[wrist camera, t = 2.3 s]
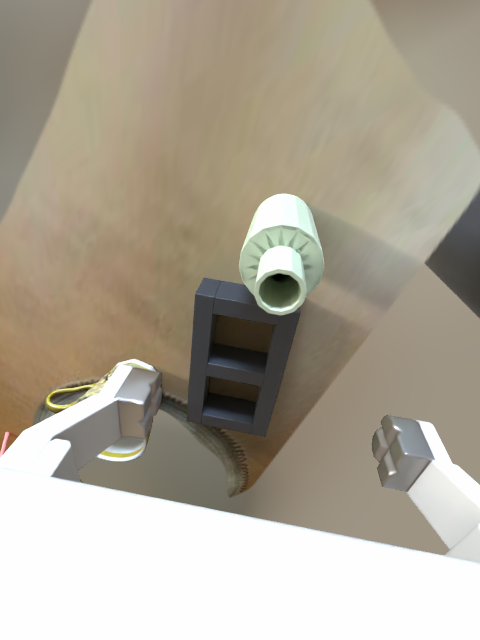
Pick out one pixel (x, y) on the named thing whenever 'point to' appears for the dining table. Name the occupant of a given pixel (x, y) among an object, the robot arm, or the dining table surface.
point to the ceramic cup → (124, 446)
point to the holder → (235, 359)
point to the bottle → (281, 255)
